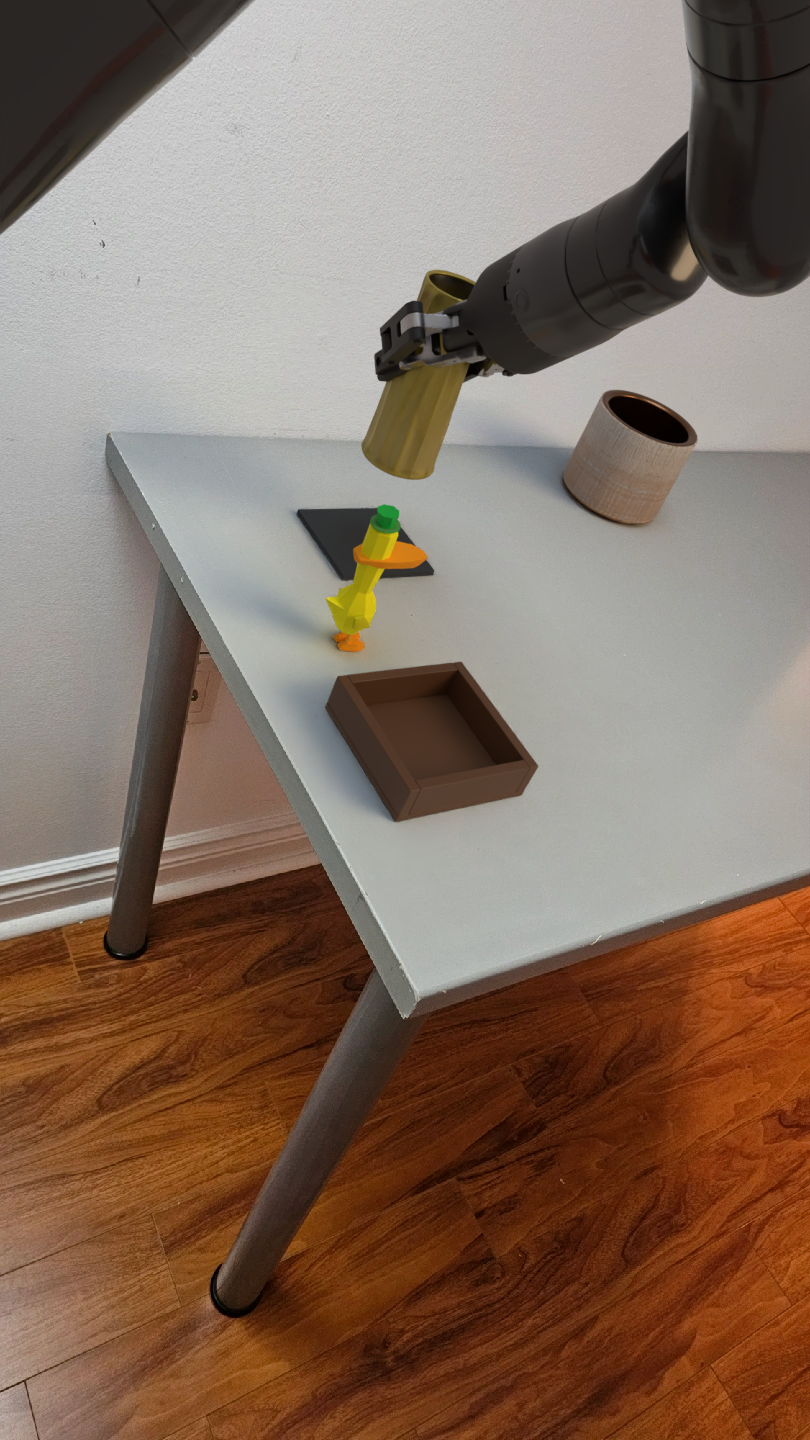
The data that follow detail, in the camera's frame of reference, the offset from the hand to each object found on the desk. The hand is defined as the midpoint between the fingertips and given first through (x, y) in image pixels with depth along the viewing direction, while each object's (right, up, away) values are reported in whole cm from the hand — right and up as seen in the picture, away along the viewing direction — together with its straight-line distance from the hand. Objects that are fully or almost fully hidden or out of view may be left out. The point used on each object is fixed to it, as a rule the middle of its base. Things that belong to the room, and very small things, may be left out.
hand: (414, 370), depth 81 cm
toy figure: (-5, -21, -2) cm, 22 cm away
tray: (+1, -29, -8) cm, 30 cm away
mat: (-4, -12, +9) cm, 15 cm away
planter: (+21, -3, +31) cm, 37 cm away
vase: (-1, -6, +3) cm, 7 cm away
